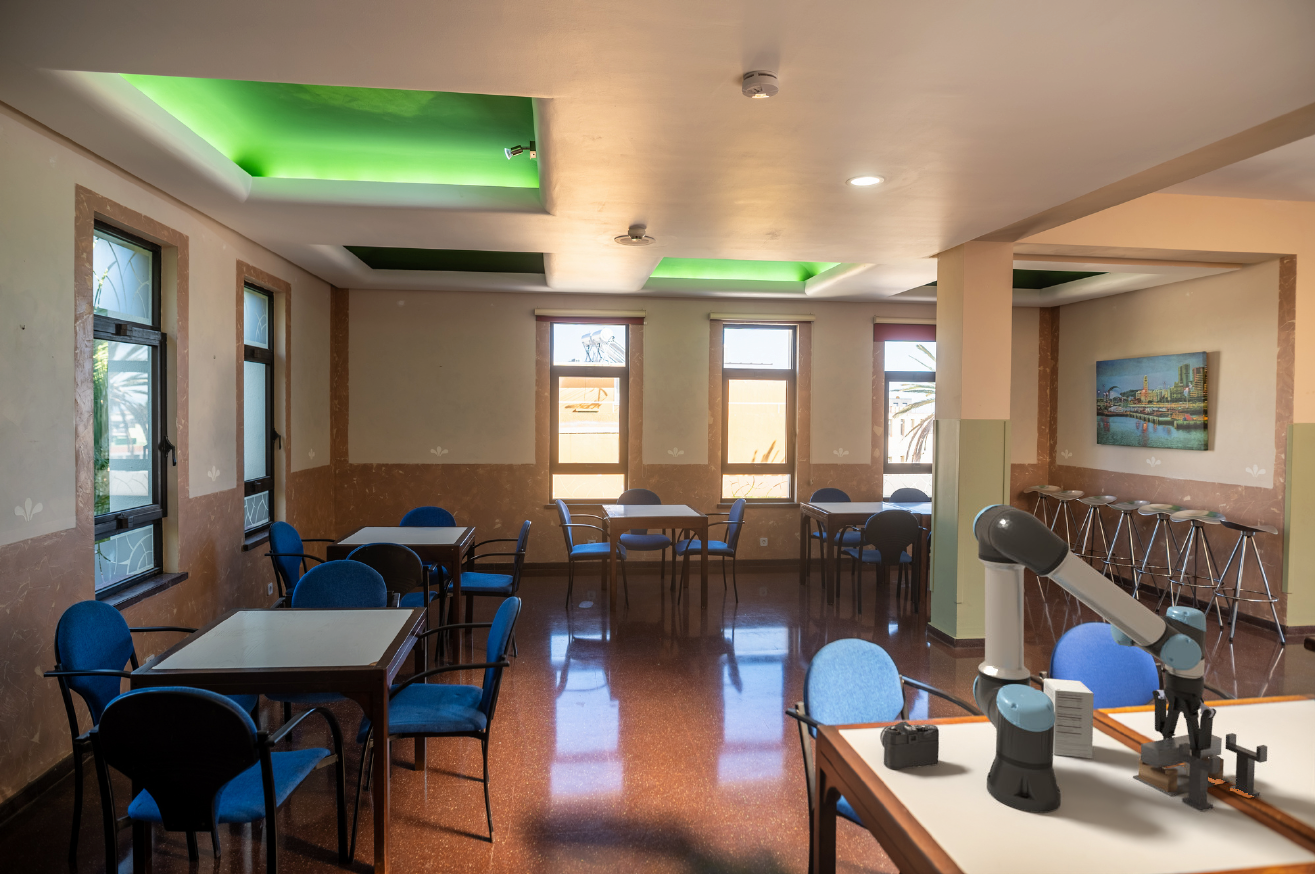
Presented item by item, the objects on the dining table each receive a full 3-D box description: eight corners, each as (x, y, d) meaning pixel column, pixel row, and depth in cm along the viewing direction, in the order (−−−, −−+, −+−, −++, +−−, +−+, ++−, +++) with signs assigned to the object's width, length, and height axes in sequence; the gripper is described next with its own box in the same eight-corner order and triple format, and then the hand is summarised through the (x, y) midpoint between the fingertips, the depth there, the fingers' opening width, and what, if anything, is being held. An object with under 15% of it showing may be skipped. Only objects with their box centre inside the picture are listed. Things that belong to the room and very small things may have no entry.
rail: (1157, 768, 166) (1158, 751, 166) (1140, 760, 170) (1141, 743, 170) (1221, 754, 174) (1221, 738, 173) (1203, 747, 177) (1204, 731, 177)
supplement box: (1093, 759, 182) (1095, 693, 181) (1053, 755, 184) (1055, 690, 183) (1079, 742, 191) (1080, 680, 191) (1041, 738, 193) (1043, 677, 193)
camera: (916, 745, 188) (916, 708, 188) (942, 765, 178) (943, 725, 177) (867, 751, 184) (868, 713, 184) (891, 772, 174) (892, 731, 174)
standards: (1208, 814, 157) (1210, 758, 156) (1174, 798, 163) (1176, 744, 163) (1267, 799, 163) (1269, 745, 163) (1233, 783, 170) (1234, 732, 170)
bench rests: (1170, 796, 164) (1171, 773, 164) (1132, 777, 173) (1133, 756, 172) (1228, 782, 171) (1229, 760, 171) (1189, 764, 179) (1190, 744, 179)
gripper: (1234, 683, 164) (1230, 784, 165) (1159, 659, 180) (1156, 751, 181) (1212, 687, 162) (1208, 789, 162) (1138, 662, 178) (1135, 755, 179)
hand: (1180, 769), depth 172 cm, fingers closed on rail, 4 cm apart
